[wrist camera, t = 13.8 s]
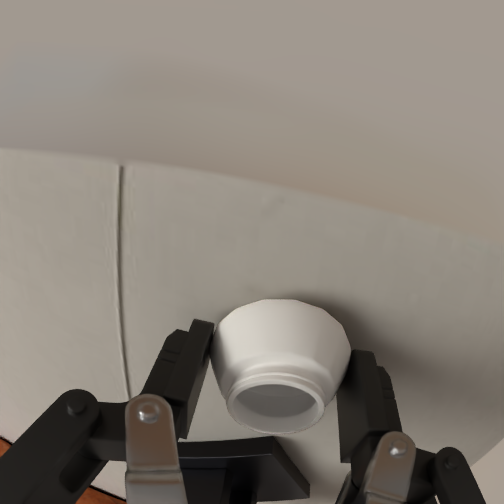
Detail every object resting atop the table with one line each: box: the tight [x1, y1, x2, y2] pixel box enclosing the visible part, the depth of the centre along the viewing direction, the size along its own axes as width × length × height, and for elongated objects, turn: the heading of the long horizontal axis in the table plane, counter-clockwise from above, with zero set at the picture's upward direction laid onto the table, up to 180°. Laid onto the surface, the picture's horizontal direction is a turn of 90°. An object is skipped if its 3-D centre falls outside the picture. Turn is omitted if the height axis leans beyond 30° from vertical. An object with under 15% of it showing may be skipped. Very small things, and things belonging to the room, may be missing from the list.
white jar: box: [209, 299, 351, 434], centre depth 10 cm, size 5×3×5 cm
